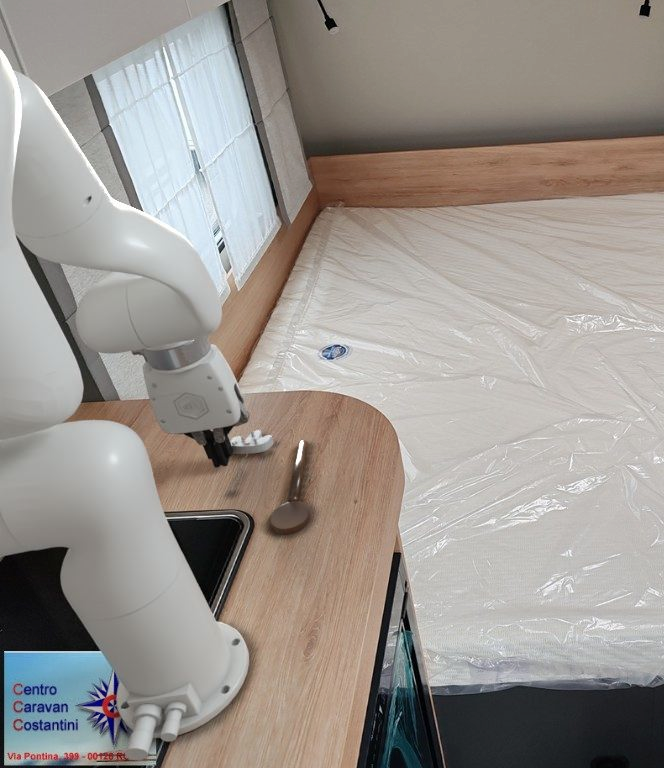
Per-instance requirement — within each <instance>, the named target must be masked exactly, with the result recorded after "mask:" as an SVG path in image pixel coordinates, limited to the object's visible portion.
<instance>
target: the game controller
mask: <svg viewBox="0 0 664 768" xmlns="http://www.w3.org/2000/svg"><path fill="white" fill-rule="evenodd" d="M230 443H231V445H232V448H233V454H238V455H246V456H245V457H243V458H242V460H241V463H240V466H239V473H238V477H237V479H236V480H234V482H233V483H232V486H231V489H230V493H231V494H232V495H234V493H233V489H234V485H235V483H236V482H237V481H238V480H239V479H240V478H241V477H240V476H241V473H242V464H243V462H244V460H245V459H246V458H247V457H248V455H249V454H250V455H251V454H258V453H263V452H266V451H268V450H270V449H271V447H272V446H273V445H274V444H275V443H274V439H273V435H272V434H266V435H264V436H263V435H262V430H261V429H256V430H254V431H251V432H250V434H249V435H248V436H247V437H246V438H245V437H244V436H241V435H235V436H234V437H232V438H231V440H230Z"/></svg>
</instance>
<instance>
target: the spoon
mask: <svg viewBox="0 0 664 768" xmlns="http://www.w3.org/2000/svg"><path fill="white" fill-rule="evenodd" d="M308 451H309V442H308V441H307V440H305V439H304V440H300V441H299V442H298V444H297V447H296V453H295V459H294V464H293V469H292V474H291V480H290V484H289V485H290V486H289V491H288V495H287V502H285V503H283V504H281V505H280V506H278V507H277V508H276V509H274V511H273V512H272V513H271V515H270V525H271V528H272V529H273V530H274V532H276V533H277V534H281V535H291V534H295V533H298V532H300V531H302V530H303V529H305V528H306V527H307V526H308V525H309V523H310V522H311V518H312V513H311V510H310V507H309V505H308V504H306V503H305V502H303V501H300V497H301V492H302V485H303V480H304V474H305V468H306V462H307V457H308Z"/></svg>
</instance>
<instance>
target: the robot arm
mask: <svg viewBox="0 0 664 768" xmlns="http://www.w3.org/2000/svg"><path fill="white" fill-rule="evenodd" d="M17 238H18V239H17ZM18 240H19V241H20V242H21V243H22V244H23V246H24V247H25V248H27V250H28V251H29V252H31V253H32V254H33V255H35V256H36V257H39V258H41V259H44V260H46V261H49V262H52V263H56V264H60V265H66V266H71V267H77V268H82V269H90V270H97V271H105V272H110V273H108V275H106V276H105V277H104V278H102V279H101V280H100V281H98V282H97V283H95V284H94V285H92V286H91V287H90V288H88V289H87V291H86V292H85V293H84V294H83V295H82V296H81V299H80V300H79V302H78V304H77V307H76V311H75V320H74V321H75V325H76V326H75V327H76V330H77V334H78V335H79V337H80V339H81V340H82V342H83V343H84V345H86V346H87V347H88V348H89V349H91V350H92V351H94V352H98V353H101V354H121V353H128V352H131V354H132V355H133V356H138V355H139V356H142V357H143V359H144V361H145V362H144V363H143V365H142V372H143V378H144V383H145V387H146V391H147V395H148V398H149V402H150V404H151V408H152V411H153V414H154V416H155V419H156V422H157V424H158V426H159V428H160V429H161V431H163V432H164V433H166V434H168V435H184V436H186V437H187V438H190V439H193V440H195V442H196V444H197V445H199V446H202V448H203V449H204V452H205V454H206V458H207V459H208V460H211V463H212V465H213V467H214V468H220V467H221V466H222V467H227V466H228V465H229V461H230V457H233V455H234V453H233V448H232V445H231V443H230V442H231V440H230V438H229V436H228V435H229V434H230V432H231V431H232V430H233V428H236V427H239V426H242V425H244V424H247V423H248V422H249V420H250V412H249V411H248V409H247V408H246V407H245V405H244V403H245V400H244V395H243V393H242V390H241V387H240V385H239V382H238V381H237V378H236V377H235V375H234V372H233V370H232V368H231V367H230V364H229V363H228V361H227V359H226V358H225V356H224V355H223V353H222V352H221V350H220V349H219V348H218V346H217V345H216V344H211V341H210V339H209V336H210V335H212V334H214V333H215V332H216V331H217V330H218V329H219V326H220V324H221V322H222V318H223V317H222V316H223V307H222V301H221V296H220V294H219V291H218V289H217V286H216V284H215V282H214V280H213V278H212V276H211V274H210V271H208V268H207V267H206V265H205V264H204V262H203V260H202V258H201V256H200V255H199V252H198V251H197V250H196V248H195V246H193V244H192V243H191V242H190V241H189V239H187V238H186V237H185V236H184V235H183V234H182V233H180V232H179V231H178V230H176V229H174V228H173V227H171V226H170V225H168V224H166V223H164V222H162V221H161V220H159V219H157V218H155V217H153V216H151V215H149V214H147V213H145V212H143V211H141V210H140V209H136V208H134V207H132V206H130V205H127V204H125V203H122V202H119V201H117V200H115V199H114V198H112V197H111V195H110V194H109V192H108V191H107V188H106V187H105V185H104V184H103V182H102V181H101V179H100V178H99V176H98V175H97V172H96V171H95V170H94V168H93V167H92V166H91V164H90V162H89V160H88V159H87V157H86V156H85V154H84V153H83V151H82V150H81V148H80V147H79V144H78V143H77V142H76V140H75V138H74V137H73V136H72V134H71V132H70V131H69V129H68V128H67V126H66V124H65V123H64V121H63V120H62V118H61V117H60V115H59V114H58V112H57V110H56V109H55V107H54V106H53V104H52V103H51V101H50V99H49V98H48V97H47V95H46V94H45V93H44V91H43V90H42V89H41V88H40V87H39V85H37V84H36V83H35V82H34V81H33V80H32V79H31V78H29V76H26V74H23V73H22V72H19V71H17V70H14V69H13V68H12V65H11V64H10V62H9V59H8V58H7V56H6V54H5V53H4V51H3V50H2V49H1V48H0V558H1V557H6V556H11V555H16V554H21V553H27V552H32V551H40V550H46V549H52V548H67V551H66V554H65V556H64V558H63V561H62V563H61V564H62V565H61V568H60V574H59V575H60V578H59V579H60V586H61V590H62V593H63V595H64V597H65V599H66V600H67V602H68V603H69V605H70V607H71V609H72V610H73V611H74V612H75V614H76V616H77V617H78V618H79V620H80V621H81V623H82V624H83V625H82V626H84V628H85V629H86V631H87V632H88V634H89V635H90V637H91V638H92V640H93V641H94V643H95V645H96V646H97V648H98V649H99V651H100V652H101V654H102V655H103V657H104V658H105V660H106V662H107V663H108V665H109V666H110V667H111V669H112V670H113V672H114V673H115V676H116V677H117V678H118V680H119V683H118V686H117V690H116V697H115V701H116V709H117V711H118V714H119V716H120V718H121V720H122V721H123V722H124V724H125V725H126V727H128V728H129V729H130V730H131V731H132V733H130V736H129V740H128V743H127V746H126V749H125V752H124V756H125V757H126V758H127V759H129V760H131V761H143V760H144V759H147V758H148V756H149V753H150V751H151V747H152V743H153V739H161V740H162V741H163V742H174V741H176V739H177V737H178V736H180V735H183V734H186V733H189V732H192V731H194V730H196V729H198V728H199V727H201V726H203V725H205V724H206V723H208V722H209V721H211V720H212V719H213V718H215V717H216V716H218V715H220V714H221V712H222V711H223V710H224V709H226V708H227V707H228V706H229V704H230V703H231V702H232V701H233V699H235V697H236V696H237V694H238V693H239V691H240V689H241V688H242V687H243V685H244V683H245V680H246V677H247V675H248V672H249V666H250V652H249V649H248V645H247V643H246V641H245V640H244V637H243V635H241V633H240V632H239V631H238V630H237V629H236V628H235V627H233V626H231V625H230V624H227V623H224V622H221V621H217V620H216V618H215V616H214V614H213V612H212V610H211V607H210V606H209V603H208V602H207V600H206V597H205V595H204V594H203V591H202V590H201V587H200V586H199V583H198V582H197V579H196V577H195V575H194V573H193V571H192V569H191V567H190V565H189V563H188V561H187V559H186V556H185V555H184V553H183V551H182V549H181V547H180V545H179V543H178V541H177V539H176V537H175V535H174V532H173V531H172V528H171V526H170V523H169V521H168V519H167V517H166V515H165V514H166V513H165V511H164V509H163V506H162V503H161V500H160V496H159V493H158V490H157V489H158V488H157V485H156V480H155V477H154V472H153V467H152V464H151V460H150V457H149V453H148V451H147V450H148V449H147V448H146V446H145V443H144V442H143V440H142V439H141V436H139V435H138V433H137V432H136V431H135V430H134V429H132V428H130V427H129V426H127V425H125V424H122V423H121V422H116V421H112V420H104V419H83V420H75V421H68V422H65V421H66V420H68V419H69V418H71V417H72V416H73V415H74V414H75V413H76V412H77V410H78V409H79V407H80V405H81V403H82V402H83V401H82V400H83V395H84V389H85V388H84V380H83V377H82V373H81V369H80V367H79V363H78V361H77V359H76V356H75V355H74V352H73V349H72V348H71V346H70V343H69V342H68V339H67V338H66V336H65V334H64V332H63V330H62V328H61V326H60V324H59V322H58V321H57V320H58V319H56V316H55V314H54V312H53V311H52V308H51V307H50V304H49V303H48V301H47V299H46V297H45V295H44V293H43V291H42V289H41V287H40V285H39V284H38V282H37V280H36V278H35V275H34V273H33V272H32V270H31V267H30V266H29V263H28V261H27V259H26V258H25V255H24V253H23V251H22V248H21V246H20V244H19V241H18Z"/></svg>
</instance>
